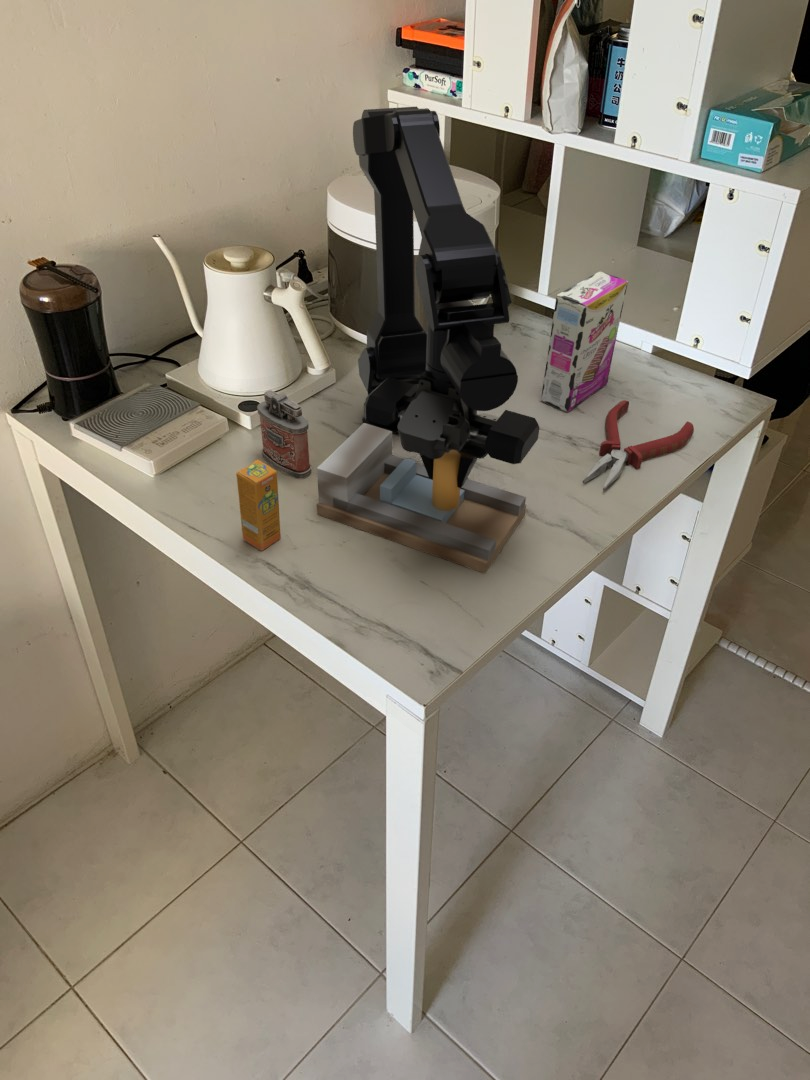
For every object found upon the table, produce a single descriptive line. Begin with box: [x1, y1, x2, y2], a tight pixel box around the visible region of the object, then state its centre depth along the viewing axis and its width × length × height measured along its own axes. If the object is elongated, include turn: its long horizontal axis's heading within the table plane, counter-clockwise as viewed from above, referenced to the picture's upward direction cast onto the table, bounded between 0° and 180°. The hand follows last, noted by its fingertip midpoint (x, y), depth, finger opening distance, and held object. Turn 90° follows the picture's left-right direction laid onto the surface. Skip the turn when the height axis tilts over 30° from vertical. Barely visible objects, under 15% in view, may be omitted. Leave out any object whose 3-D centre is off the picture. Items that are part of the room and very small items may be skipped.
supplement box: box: [235, 459, 281, 551], centre depth 98 cm, size 3×3×10 cm
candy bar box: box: [540, 271, 629, 413], centre depth 122 cm, size 11×5×16 cm, turn 139°
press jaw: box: [380, 450, 465, 523], centre depth 102 cm, size 9×6×8 cm
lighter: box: [256, 389, 312, 479], centre depth 110 cm, size 8×3×10 cm, turn 47°
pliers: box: [582, 399, 695, 491], centre depth 116 cm, size 12×20×3 cm, turn 145°
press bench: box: [316, 423, 527, 574], centre depth 104 cm, size 22×12×6 cm, turn 62°
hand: (446, 481), depth 101 cm, fingers closed on press jaw, 3 cm apart
